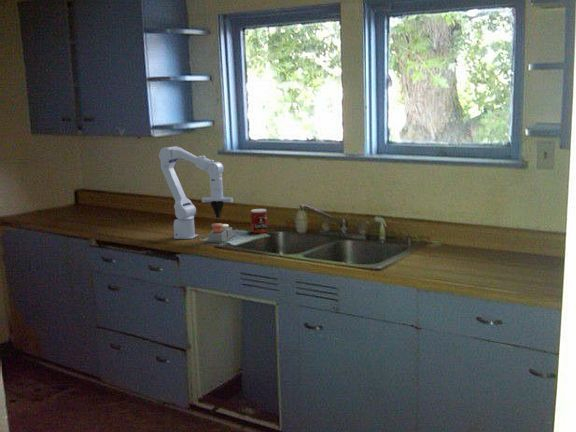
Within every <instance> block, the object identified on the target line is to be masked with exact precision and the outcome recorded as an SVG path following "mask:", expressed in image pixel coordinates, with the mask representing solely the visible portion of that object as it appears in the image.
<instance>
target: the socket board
mask: <svg viewBox="0 0 576 432" xmlns="http://www.w3.org/2000/svg"><path fill="white" fill-rule="evenodd" d="M207 235H208V236H207V237H208V238H207V239H205V240H204V242H205V243H227V242H228V241H229V239H230V240H231V239H233V238H235V237H236V236H237V233H234V231H233V227H230V226H229V227H228V229H227V230H222V233H221V234H218V233H213V230H212V231H210V232H209V233H208V234H207ZM235 235H236V236H235ZM232 237H233V238H232Z"/></svg>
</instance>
